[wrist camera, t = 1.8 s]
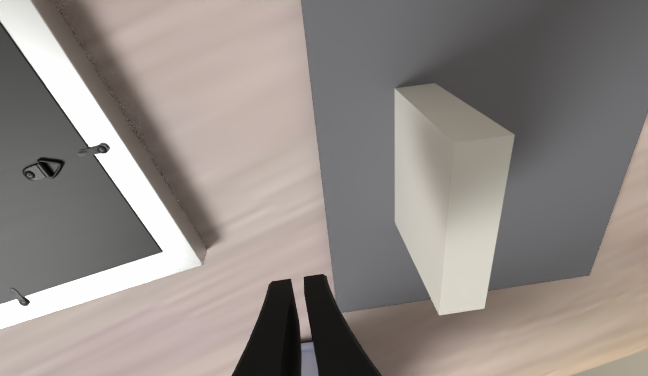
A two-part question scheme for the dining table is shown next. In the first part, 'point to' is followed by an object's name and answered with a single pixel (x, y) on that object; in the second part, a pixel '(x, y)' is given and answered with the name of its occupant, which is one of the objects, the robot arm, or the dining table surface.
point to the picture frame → (74, 178)
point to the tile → (449, 192)
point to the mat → (492, 101)
